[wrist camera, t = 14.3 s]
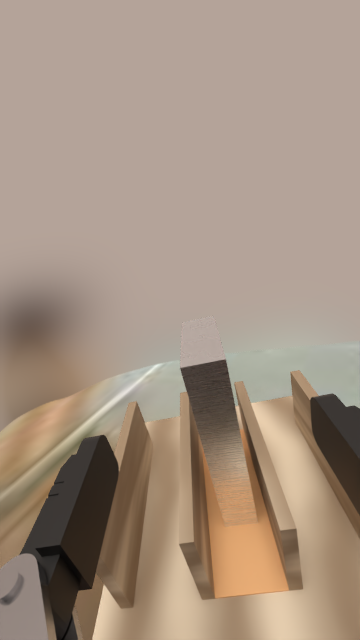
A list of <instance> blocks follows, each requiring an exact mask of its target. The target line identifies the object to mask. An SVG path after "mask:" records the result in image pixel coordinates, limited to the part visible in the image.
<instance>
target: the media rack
mask: <svg viewBox="0 0 360 640" xmlns="http://www.w3.org/2000/svg"><path fill="white" fill-rule="evenodd" d="M290 373H291V384H292V396H288V397H283V398H278V399H272V400H267V401H261V402H256V403H251V402H250V400H249V397H248V394H247V391H246V389H245V386H244V383H243V381H240V382H235V383H234V384H235V389H236V395H237V400H238V405H239V406H235V408H236V413H237V418H238V423H239V428H240V433H241V439H242V444H243V449H244V454H245V459H246V464H247V469H248V474H249V479H250V484H251V489H252V494H253V499H254V504H255V509H256V514H257V519H258V523H254V524H246V525H237V526H229V527H225V525H224V521H223V517H222V514H221V510H220V507H219V503H218V500H217V496H216V493H215V489H214V486H213V482H212V479H211V475H210V471H209V468H208V464H207V461H206V457H205V454H204V450H203V447H202V443H201V440H200V436H199V433H198V429H197V426H196V422H195V418H194V415H193V411H192V408H191V404H190V401H189V397H188V394H187V392H183V393H180V416H179V417H173V418H168V419H162V420H157V421H151V422H146V423H145V422H144V419H143V417H142V414H141V412H140V409H139V406H138V404H137V401H136V402H131V403H129V404H128V407H127V411H126V414H125V418H124V421H123V425H122V428H121V432H120V435H119V439H118V442H117V446H116V449H115V453H114V455H115V457H116V459H117V462H118V466H119V476H118V481H117V485H116V490H115V494H114V498H113V502H112V506H111V511H110V515H109V519H108V523H107V527H106V531H105V536H104V540H103V544H102V548H101V552H100V557H99V561H98V565H97V569H96V573H97V575H98V576H99V578H100V579H101V580H102V582H103V583H104V587H103V592H102V597H101V601H100V606H99V611H98V615H97V620H96V625H95V630H94V634H93V639H92V640H360V516H359V514H358V512H357V511H356V509H355V507H354V505H353V504H352V502H351V500H350V499H349V497H348V495H347V494H346V492H345V490H344V489H343V487H342V485H341V484H340V482H339V480H338V479H337V477H336V475H335V474H334V472H333V470H332V469H331V467H330V465H329V464H328V462H327V460H326V459H325V457H324V455H323V454H322V452H321V450H320V449H319V447H318V445H317V443H316V441H315V438H314V436H313V432H312V426H311V407H310V399H311V397H316V396H318V394H317V393H316V392H315V390H314V389H313V388H312V386H311V385H310V384H309V382H308V381H307V380H306V378H305V377H304V376H303V374H302V373H301V372H300V371H299V370H298V371H293V372H290Z"/></svg>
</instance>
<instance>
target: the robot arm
mask: <svg viewBox="0 0 360 640" xmlns="http://www.w3.org/2000/svg"><path fill="white" fill-rule="evenodd" d="M310 407H311V426H312V432H313V436H314V438H315V441H316V443H317V445H318V447H319V449H320V450H321V452H322V454H323V455H324V457H325V459H326V460H327V462H328V464H329V465H330V467H331V469H332V470H333V472H334V474H335V475H336V477H337V479H338V480H339V482H340V484H341V485H342V487H343V489H344V490H345V492H346V494H347V495H348V497H349V499H350V500H351V502H352V504H353V505H354V507H355V509H356V511H357V512H358V514H359V516H360V409H359V408H358V407H356V406H349V407H345V405H344V404H343V403H342V402H341V401H340V400H339V398H338V397H337V396H336V395H334V394H327V395H322V396H316V397H311V399H310ZM118 476H119V466H118V462H117V459H116V457H115V455H114V453H113V451H112V448H111V446H110V444H109V442H108V440H107V438H106V436H104V435H100V436H95V437H89V438H85V439H83V441H82V442H81V445H80V447H79V449H78V451H77V454H75V455H71V457H70V458H69V459H68V460H67V462H66V463H65V464H64V465H63V466H62V468H61V469H60V471H59V474H58V476H57V478H56V480H55V482H54V486H52V488H51V490H50V492H49V495H48V498H47V499H46V501H45V503H44V505H43V507H42V509H41V511H40V513H39V516H38V518H37V520H36V522H35V524H34V526H33V528H32V530H31V532H30V535H29V537H28V539H27V541H26V543H25V545H24V547H23V549H22V551H21V553H20V554H19V555H18V556H16V557H14V558H13V559H11V560H10V561H8V562H7V563H6V564H5V565H4V566H3V567H2V568H1V569H0V640H83V636H82V632H81V628H80V623H79V619H78V615H77V611H76V608H75V606H74V604H75V600H76V597H77V593H78V591H79V590H87V589H92V586H93V582H94V578H95V573H96V569H97V565H98V561H99V557H100V552H101V548H102V544H103V540H104V536H105V531H106V527H107V523H108V519H109V515H110V511H111V506H112V502H113V498H114V494H115V490H116V485H117V481H118Z"/></svg>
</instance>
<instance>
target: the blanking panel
mask: <svg viewBox="0 0 360 640" xmlns="http://www.w3.org/2000/svg"><path fill="white" fill-rule="evenodd" d="M180 369H181V372H182V376H183V380H184V383H185V387H186V390H187V394H188V397H189V401H190V404H191V408H192V411H193V415H194V418H195V422H196V426H197V429H198V433H199V436H200V440H201V443H202V447H203V450H204V454H205V457H206V461H207V464H208V468H209V471H210V475H211V479H212V482H213V486H214V489H215V493H216V496H217V500H218V503H219V507H220V510H221V514H222V517H223V521H224V525H225V527H229V526H237V525H246V524H254V523H258V519H257V514H256V509H255V504H254V499H253V494H252V489H251V484H250V479H249V474H248V469H247V464H246V459H245V454H244V449H243V444H242V439H241V433H240V428H239V423H238V418H237V413H236V408H235V403H234V398H233V393H232V388H231V383H230V378H229V373H228V368H227V363H226V358H225V355H224V351H223V347H222V344H221V340H220V337H219V333H218V329H217V326H216V322H215V318H214V316H211V317H206V318H201V319H196V320H192V321H188V322H183V323H182V335H181V360H180Z"/></svg>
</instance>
